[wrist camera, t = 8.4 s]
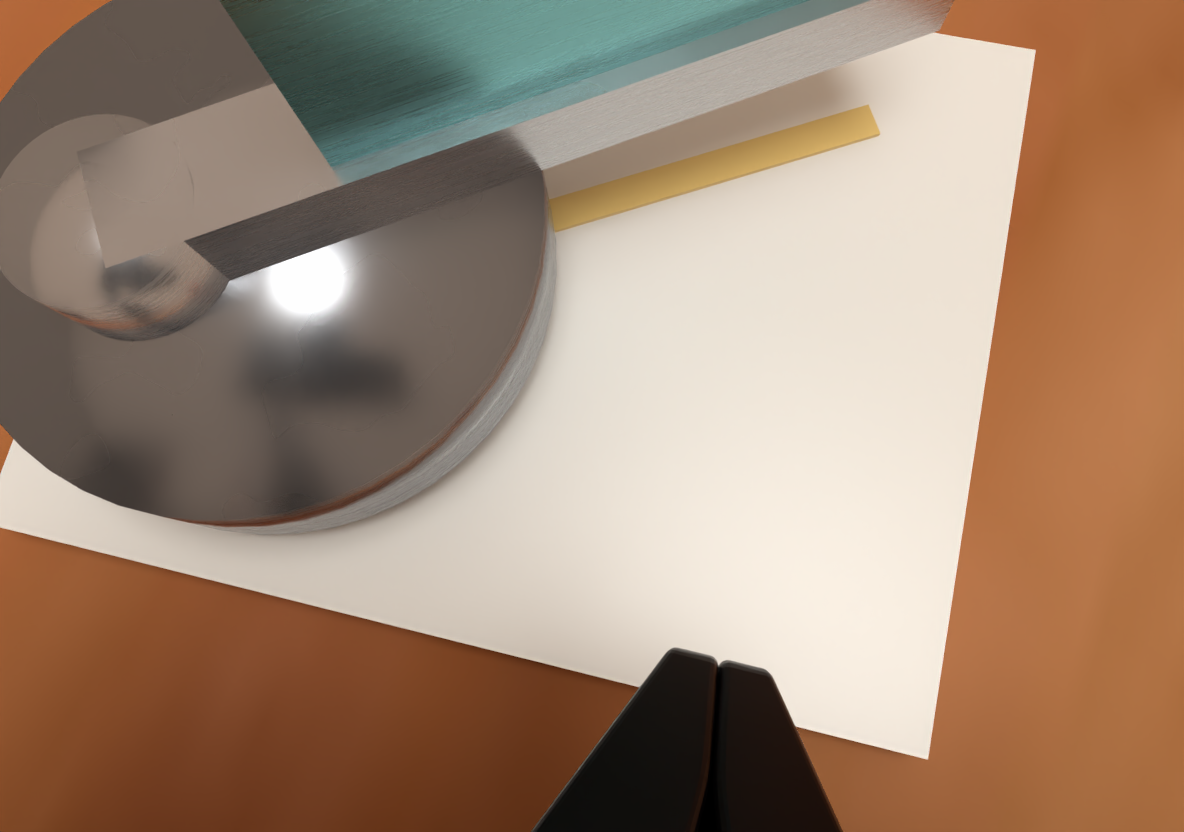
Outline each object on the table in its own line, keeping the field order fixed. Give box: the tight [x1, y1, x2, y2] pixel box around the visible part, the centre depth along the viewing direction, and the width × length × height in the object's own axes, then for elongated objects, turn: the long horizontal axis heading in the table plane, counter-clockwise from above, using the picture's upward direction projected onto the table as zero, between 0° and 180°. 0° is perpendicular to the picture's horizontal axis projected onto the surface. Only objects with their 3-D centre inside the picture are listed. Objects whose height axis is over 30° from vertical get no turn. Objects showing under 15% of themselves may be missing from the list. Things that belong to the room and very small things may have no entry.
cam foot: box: [0, 0, 954, 535], centre depth 11 cm, size 15×9×9 cm, turn 110°
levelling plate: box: [0, 33, 1036, 759], centre depth 16 cm, size 17×12×3 cm
